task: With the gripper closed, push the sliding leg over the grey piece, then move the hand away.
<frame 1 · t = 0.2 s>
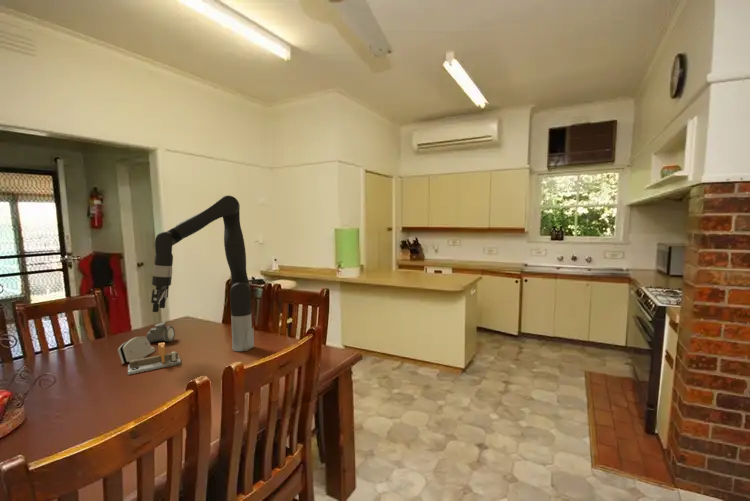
hand: (158, 309, 159), 22 cm above the table, fingers open, 8 cm apart
pipe fitting: (160, 342, 183), on the table
hinge: (136, 357, 161), on the table
sliding leg: (162, 352, 152), point 5 cm above the table, slide at -3.0 cm
grey piece: (154, 365, 150), on the table
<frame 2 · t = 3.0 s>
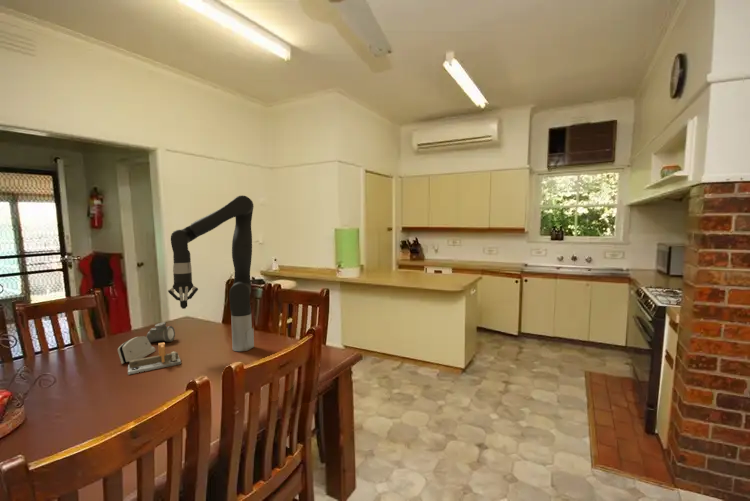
hand: (184, 308, 164), 22 cm above the table, fingers closed
nothing on the table moved.
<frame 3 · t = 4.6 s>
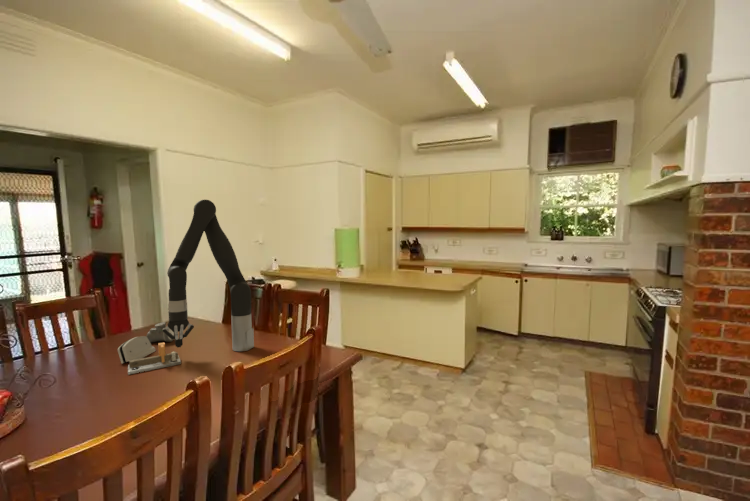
hand: (179, 346, 158), 6 cm above the table, fingers closed
nothing on the table moved.
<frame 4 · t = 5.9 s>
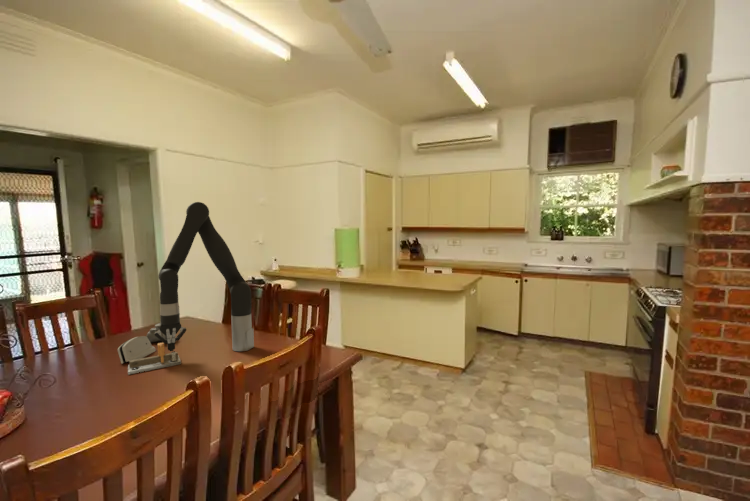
hand: (171, 350, 156), 5 cm above the table, fingers closed
sliding leg: (161, 352, 152), point 5 cm above the table, slide at -2.7 cm, touching gripper
everything else where it was.
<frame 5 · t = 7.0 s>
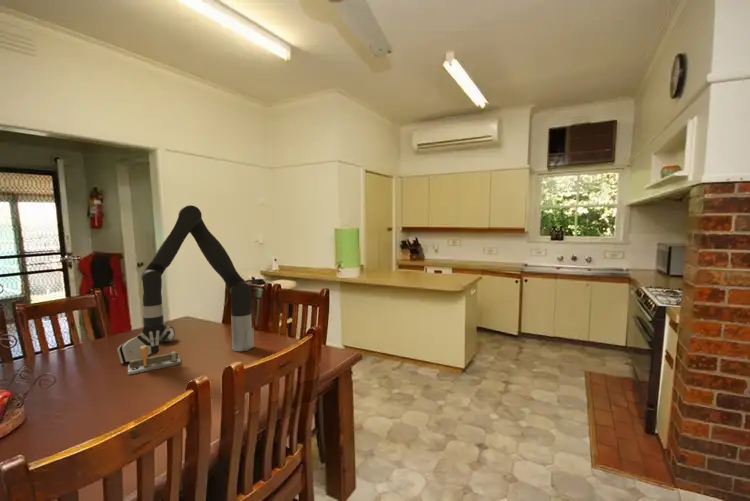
hand: (155, 353, 152), 5 cm above the table, fingers closed
sliding leg: (144, 355, 149), point 5 cm above the table, slide at 3.6 cm, touching gripper
everything else where it was.
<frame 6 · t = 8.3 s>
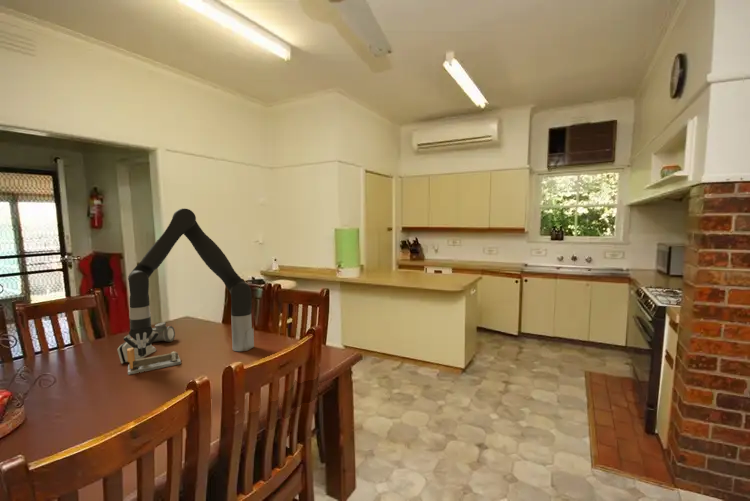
hand: (142, 355, 150), 5 cm above the table, fingers closed
sliding leg: (131, 358, 146), point 5 cm above the table, slide at 8.3 cm, touching gripper
everything else where it was.
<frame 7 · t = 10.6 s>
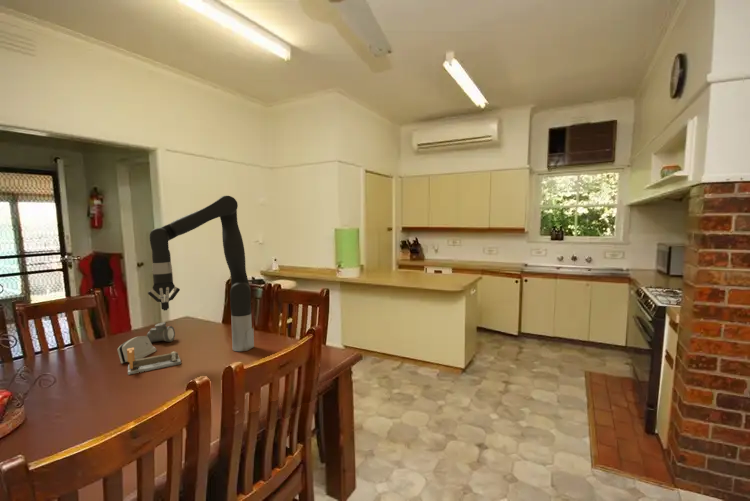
hand: (165, 310, 157), 23 cm above the table, fingers closed
sliding leg: (131, 358, 146), point 5 cm above the table, slide at 8.3 cm
everything else where it was.
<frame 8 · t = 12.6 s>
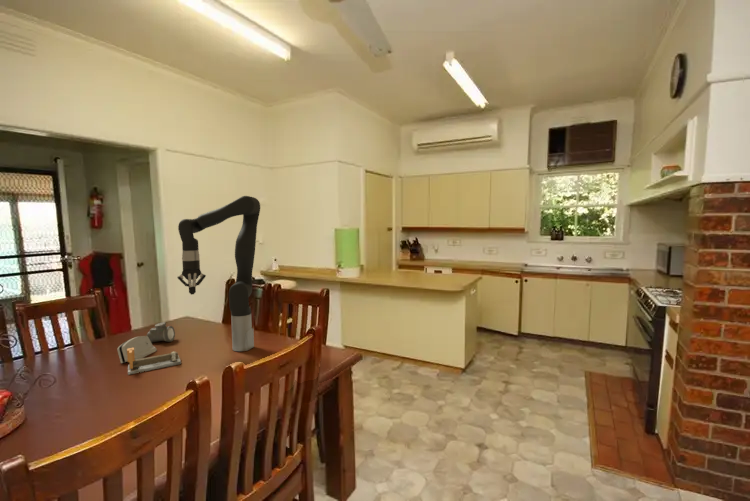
hand: (192, 294, 172), 27 cm above the table, fingers closed
nothing on the table moved.
at the end: sliding leg slide at 8.3 cm; the gripper is holding nothing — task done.
